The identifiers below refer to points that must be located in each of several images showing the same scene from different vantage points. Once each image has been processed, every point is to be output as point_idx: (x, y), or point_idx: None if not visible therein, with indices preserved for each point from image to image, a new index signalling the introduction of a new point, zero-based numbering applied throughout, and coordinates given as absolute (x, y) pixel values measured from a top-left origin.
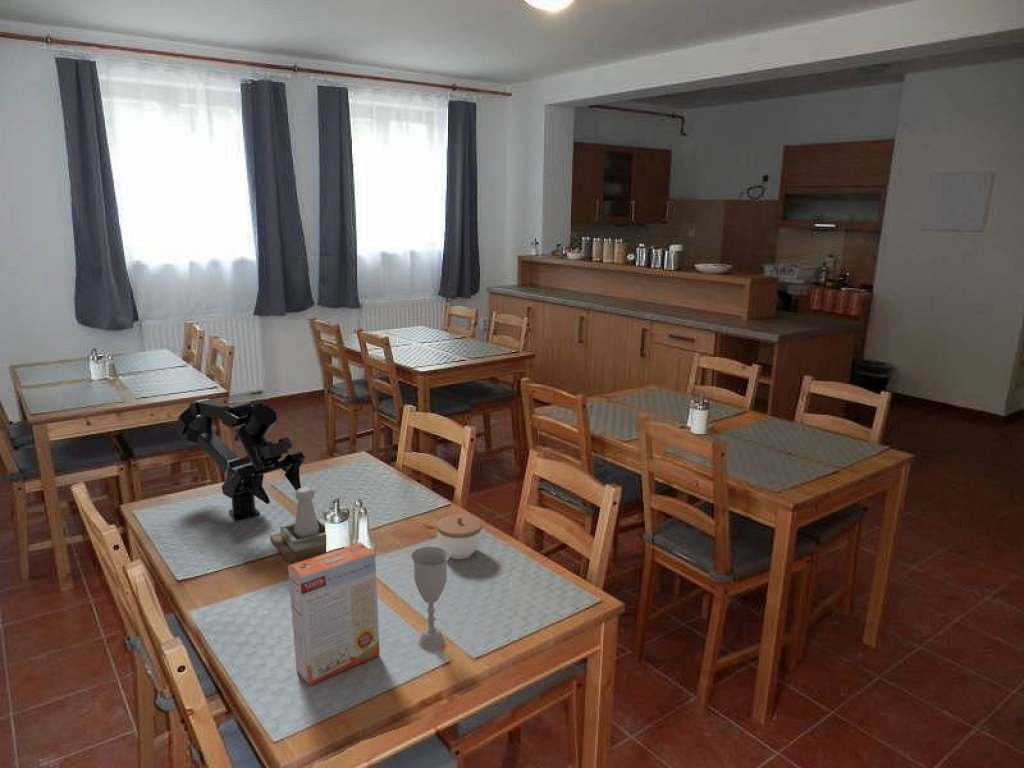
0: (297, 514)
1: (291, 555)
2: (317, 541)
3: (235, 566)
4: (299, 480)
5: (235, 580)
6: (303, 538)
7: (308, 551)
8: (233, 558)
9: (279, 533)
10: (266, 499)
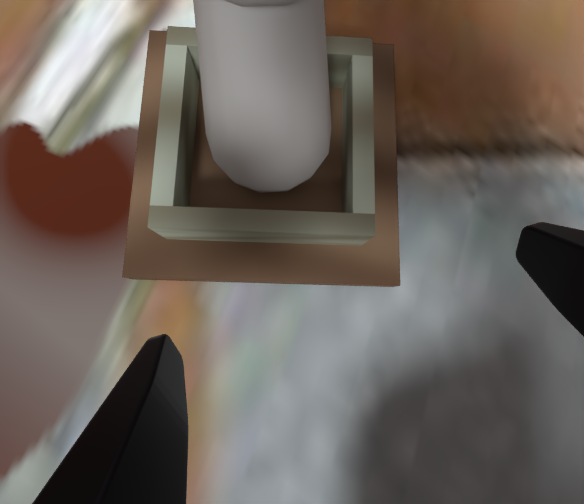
0: (326, 64)
1: (378, 59)
2: None
3: (561, 147)
4: (68, 462)
5: (576, 56)
6: None
7: None
8: (558, 213)
9: (357, 278)
10: (580, 231)
